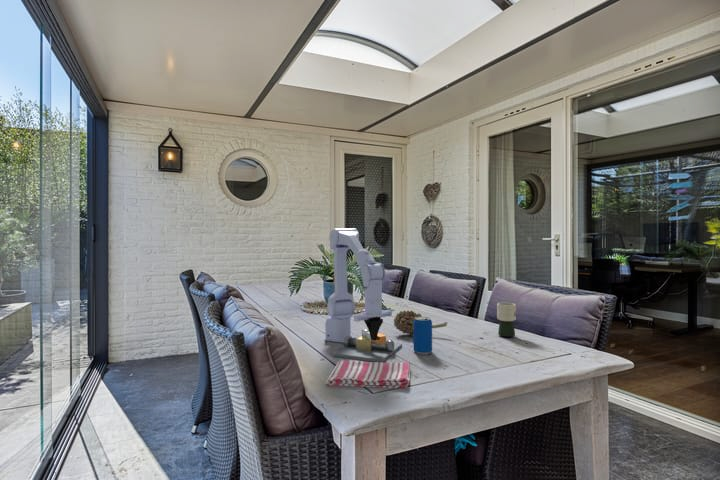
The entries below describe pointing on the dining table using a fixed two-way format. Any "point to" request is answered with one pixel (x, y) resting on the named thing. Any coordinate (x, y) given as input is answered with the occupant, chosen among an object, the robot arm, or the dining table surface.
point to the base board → (366, 353)
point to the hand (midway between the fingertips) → (373, 339)
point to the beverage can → (422, 335)
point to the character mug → (506, 318)
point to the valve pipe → (368, 344)
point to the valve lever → (380, 337)
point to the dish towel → (370, 374)
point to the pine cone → (409, 322)
